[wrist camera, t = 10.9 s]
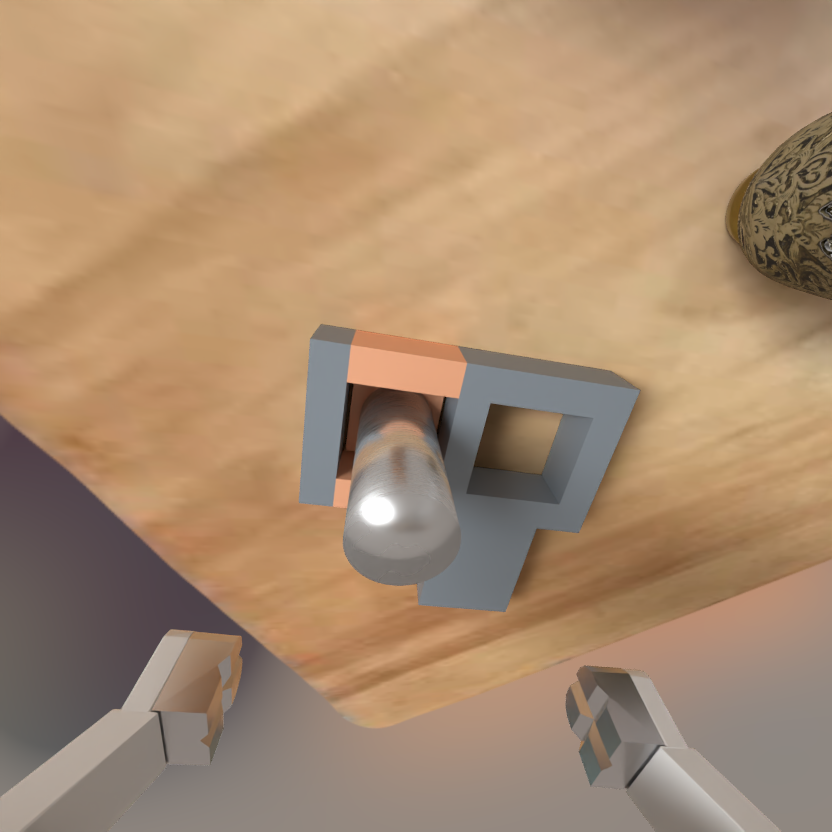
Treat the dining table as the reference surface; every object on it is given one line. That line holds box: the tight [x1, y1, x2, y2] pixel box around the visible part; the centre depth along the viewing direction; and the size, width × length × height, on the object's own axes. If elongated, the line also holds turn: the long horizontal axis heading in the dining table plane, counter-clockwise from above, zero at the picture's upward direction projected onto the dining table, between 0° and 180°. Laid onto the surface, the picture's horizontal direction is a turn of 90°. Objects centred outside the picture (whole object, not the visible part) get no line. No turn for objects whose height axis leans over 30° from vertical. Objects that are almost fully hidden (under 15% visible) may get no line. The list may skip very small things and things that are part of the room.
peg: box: [343, 387, 461, 586], centre depth 18 cm, size 4×4×10 cm
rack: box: [299, 324, 640, 612], centre depth 24 cm, size 16×17×3 cm
